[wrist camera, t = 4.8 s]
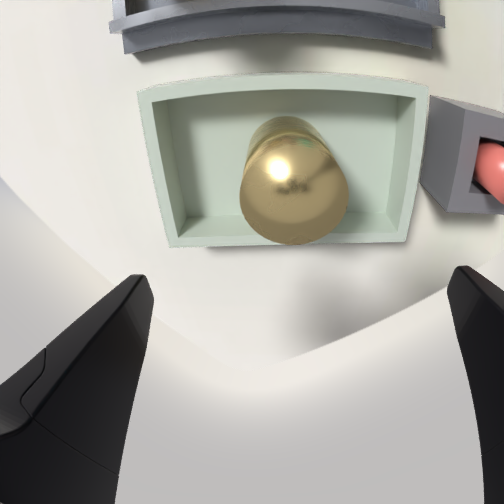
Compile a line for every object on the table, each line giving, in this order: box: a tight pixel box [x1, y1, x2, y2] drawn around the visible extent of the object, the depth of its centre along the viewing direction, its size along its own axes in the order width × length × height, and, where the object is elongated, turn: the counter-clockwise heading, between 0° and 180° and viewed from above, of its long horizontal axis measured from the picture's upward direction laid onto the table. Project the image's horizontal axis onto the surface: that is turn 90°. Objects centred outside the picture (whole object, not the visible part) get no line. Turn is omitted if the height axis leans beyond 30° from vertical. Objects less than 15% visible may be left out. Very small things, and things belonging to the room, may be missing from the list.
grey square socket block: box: [420, 95, 504, 215], centre depth 14 cm, size 6×6×4 cm
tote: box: [137, 72, 428, 248], centre depth 16 cm, size 14×9×3 cm, turn 94°
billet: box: [239, 116, 349, 245], centre depth 14 cm, size 4×4×6 cm
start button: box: [472, 138, 504, 204], centre depth 12 cm, size 3×3×3 cm
